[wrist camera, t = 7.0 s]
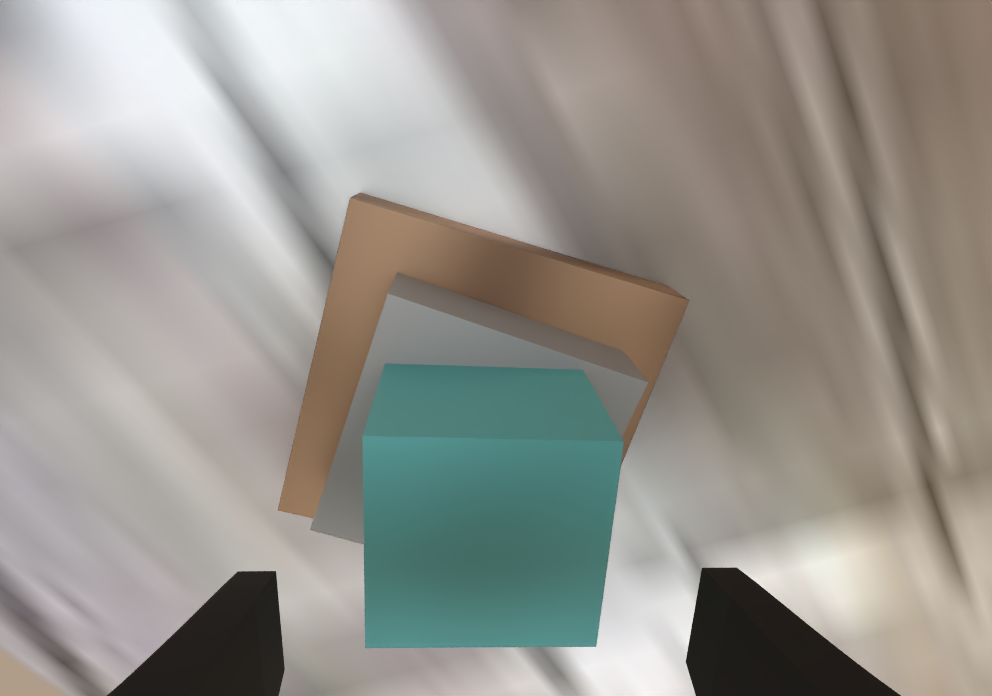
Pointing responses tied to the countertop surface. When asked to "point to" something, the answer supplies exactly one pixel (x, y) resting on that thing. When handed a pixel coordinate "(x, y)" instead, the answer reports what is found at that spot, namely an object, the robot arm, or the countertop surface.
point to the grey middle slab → (459, 342)
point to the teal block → (486, 507)
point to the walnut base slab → (475, 274)
